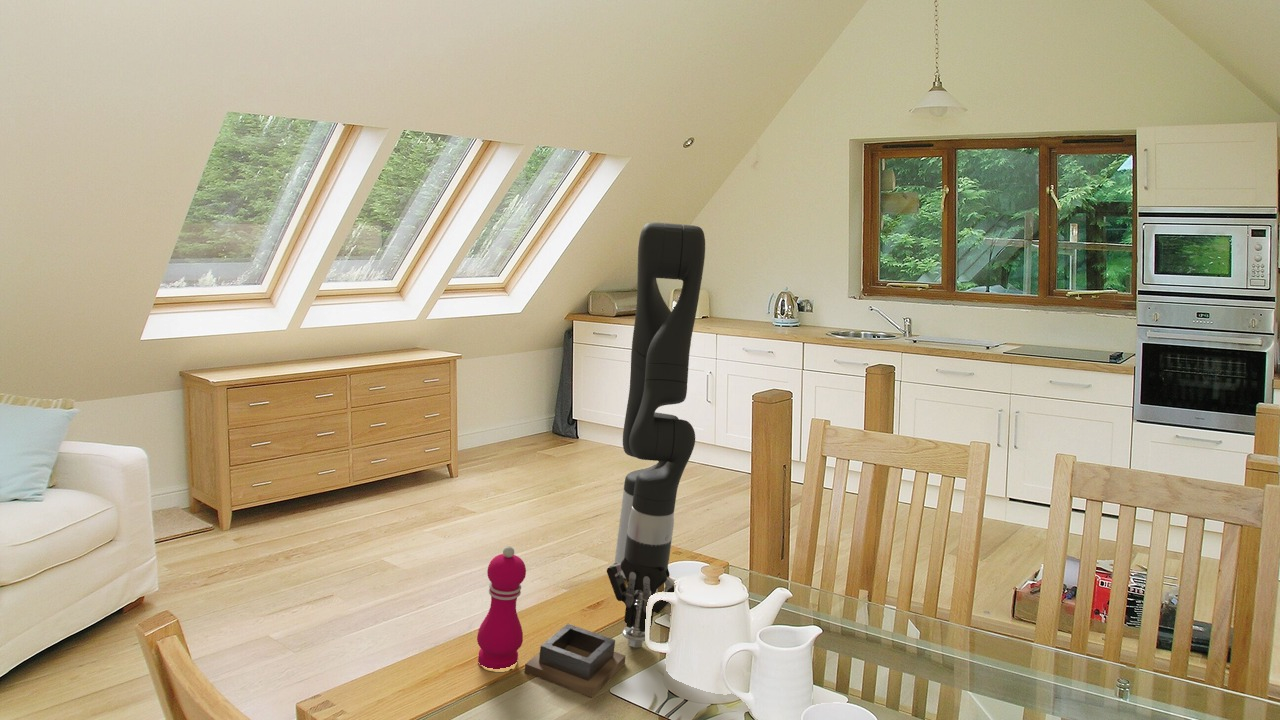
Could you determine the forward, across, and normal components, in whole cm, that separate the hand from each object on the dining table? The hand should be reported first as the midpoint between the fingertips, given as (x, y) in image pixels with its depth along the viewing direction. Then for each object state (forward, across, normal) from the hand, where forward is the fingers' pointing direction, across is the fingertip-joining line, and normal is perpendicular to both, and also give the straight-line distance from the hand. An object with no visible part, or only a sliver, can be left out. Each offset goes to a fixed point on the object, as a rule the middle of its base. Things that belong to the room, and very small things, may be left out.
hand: (637, 627), depth 164 cm
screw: (+3, 0, 0) cm, 3 cm away
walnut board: (+3, +5, +12) cm, 14 cm away
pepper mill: (+4, +16, +18) cm, 25 cm away
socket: (+2, +5, +12) cm, 13 cm away
